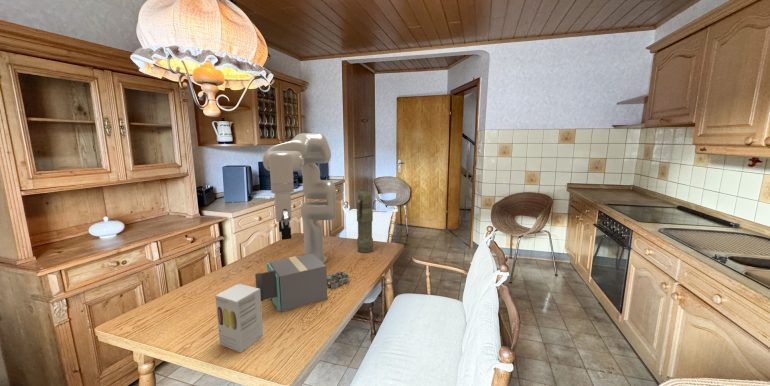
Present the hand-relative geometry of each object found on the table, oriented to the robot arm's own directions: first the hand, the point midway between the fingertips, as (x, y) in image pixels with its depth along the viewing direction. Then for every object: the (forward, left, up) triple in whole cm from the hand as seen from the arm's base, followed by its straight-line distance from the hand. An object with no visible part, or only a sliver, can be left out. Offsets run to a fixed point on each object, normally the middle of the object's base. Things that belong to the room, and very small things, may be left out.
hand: (285, 235), depth 113 cm
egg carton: (-11, +24, -30) cm, 40 cm away
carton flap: (-8, -7, -29) cm, 31 cm away
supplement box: (+10, -18, -30) cm, 36 cm away
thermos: (-40, +54, -29) cm, 74 cm away
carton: (-8, +6, -29) cm, 31 cm away
